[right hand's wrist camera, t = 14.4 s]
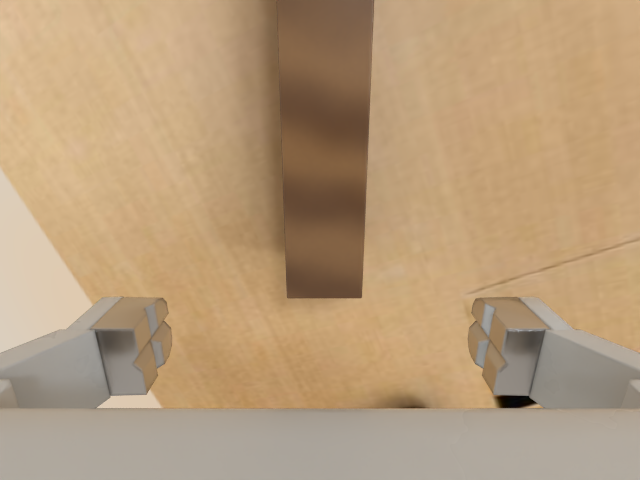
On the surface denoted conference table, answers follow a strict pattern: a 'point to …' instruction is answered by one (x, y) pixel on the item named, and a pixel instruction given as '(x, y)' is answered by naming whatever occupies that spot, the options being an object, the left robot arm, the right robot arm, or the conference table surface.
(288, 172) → the post
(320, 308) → the conference table surface
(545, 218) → the conference table surface
